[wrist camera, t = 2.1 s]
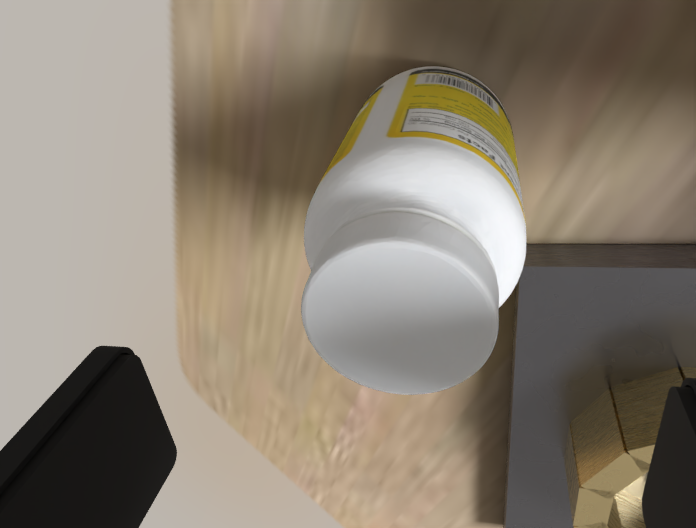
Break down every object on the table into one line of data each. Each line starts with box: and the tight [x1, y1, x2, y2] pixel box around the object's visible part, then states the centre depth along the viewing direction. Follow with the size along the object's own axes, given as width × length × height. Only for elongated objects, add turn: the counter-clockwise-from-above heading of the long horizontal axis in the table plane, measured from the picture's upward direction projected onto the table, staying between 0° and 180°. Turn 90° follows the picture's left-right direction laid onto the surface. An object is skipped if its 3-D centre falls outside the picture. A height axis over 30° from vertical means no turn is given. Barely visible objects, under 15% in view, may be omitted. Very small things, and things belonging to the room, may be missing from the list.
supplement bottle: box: [301, 66, 526, 395], centre depth 15 cm, size 5×5×10 cm
